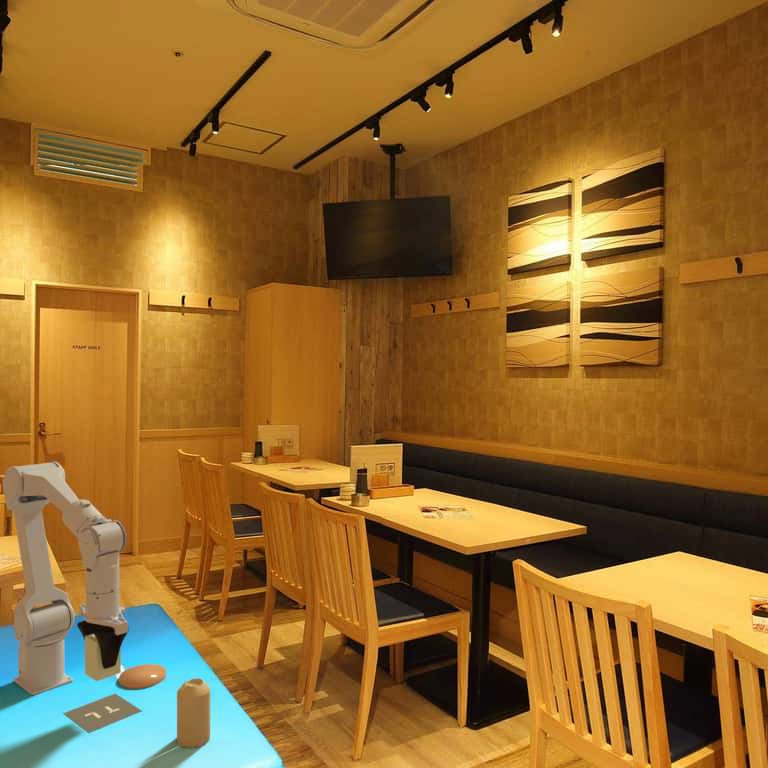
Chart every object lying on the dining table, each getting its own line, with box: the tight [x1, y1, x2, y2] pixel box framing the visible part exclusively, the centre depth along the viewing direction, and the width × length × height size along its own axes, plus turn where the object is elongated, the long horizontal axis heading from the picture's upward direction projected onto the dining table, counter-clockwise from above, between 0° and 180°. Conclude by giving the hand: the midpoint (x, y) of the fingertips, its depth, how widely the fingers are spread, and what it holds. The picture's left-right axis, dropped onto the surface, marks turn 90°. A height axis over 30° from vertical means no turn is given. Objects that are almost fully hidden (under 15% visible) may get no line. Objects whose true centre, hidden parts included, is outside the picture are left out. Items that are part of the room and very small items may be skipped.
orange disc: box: [118, 663, 167, 690], centre depth 137 cm, size 9×9×1 cm
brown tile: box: [62, 693, 143, 734], centre depth 124 cm, size 10×10×1 cm
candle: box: [176, 678, 211, 749], centre depth 115 cm, size 6×6×10 cm
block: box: [84, 633, 122, 682], centre depth 123 cm, size 4×4×7 cm
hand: (102, 662), depth 123 cm, fingers closed on block, 4 cm apart
